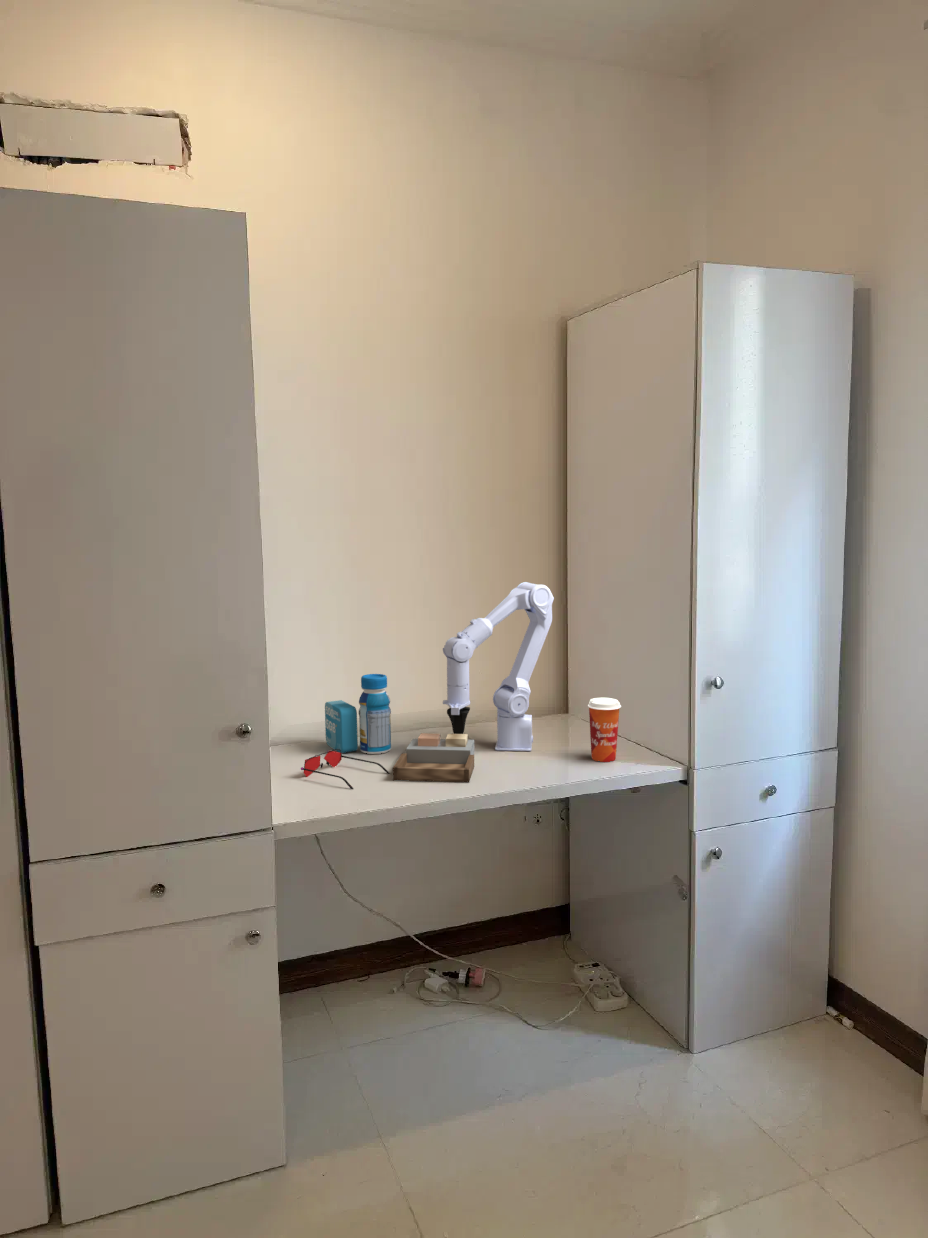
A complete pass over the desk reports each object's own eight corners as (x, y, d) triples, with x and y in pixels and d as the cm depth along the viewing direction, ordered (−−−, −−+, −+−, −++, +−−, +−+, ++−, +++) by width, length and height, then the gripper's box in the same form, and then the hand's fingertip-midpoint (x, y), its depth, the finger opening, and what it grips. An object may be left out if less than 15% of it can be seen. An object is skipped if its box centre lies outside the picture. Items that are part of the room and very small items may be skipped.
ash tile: (467, 741, 224) (467, 734, 224) (465, 747, 219) (465, 739, 219) (448, 741, 225) (448, 733, 224) (445, 746, 220) (445, 738, 219)
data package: (325, 744, 238) (324, 701, 237) (341, 741, 240) (340, 699, 239) (342, 754, 228) (340, 709, 226) (358, 752, 230) (357, 707, 228)
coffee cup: (589, 763, 218) (589, 704, 216) (585, 754, 226) (585, 697, 224) (623, 763, 217) (623, 704, 216) (618, 754, 226) (618, 697, 224)
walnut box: (474, 766, 216) (474, 754, 216) (469, 782, 204) (469, 769, 203) (402, 765, 218) (402, 753, 218) (392, 780, 206) (392, 768, 205)
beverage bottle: (380, 756, 226) (379, 680, 223) (353, 752, 229) (351, 677, 227) (397, 748, 233) (396, 674, 231) (370, 744, 237) (369, 671, 234)
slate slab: (474, 754, 226) (474, 739, 226) (470, 766, 216) (470, 750, 216) (413, 753, 228) (412, 738, 228) (406, 764, 218) (406, 749, 218)
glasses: (339, 765, 220) (339, 745, 220) (391, 775, 211) (390, 755, 210) (300, 779, 209) (299, 759, 208) (352, 791, 200) (352, 770, 199)
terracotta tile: (440, 741, 225) (440, 733, 224) (437, 746, 220) (437, 738, 220) (421, 740, 225) (421, 733, 225) (418, 746, 220) (417, 738, 220)
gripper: (446, 678, 232) (447, 728, 234) (438, 689, 218) (439, 743, 220) (473, 678, 231) (473, 729, 233) (467, 690, 217) (467, 743, 219)
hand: (458, 736), depth 226 cm, fingers closed
